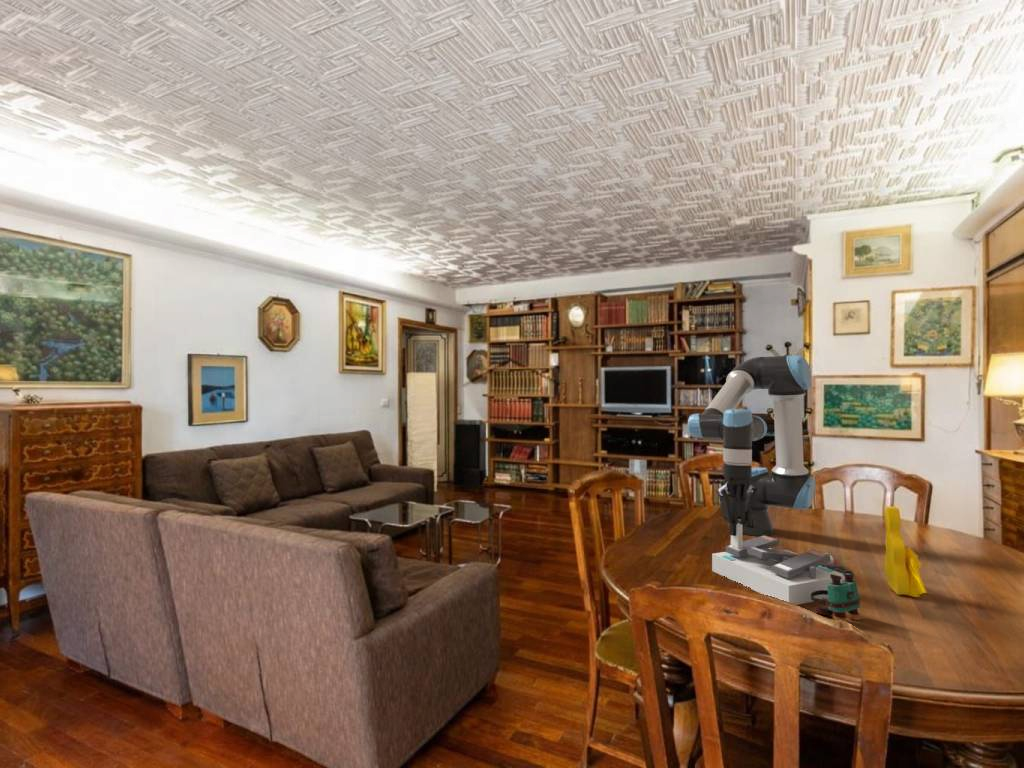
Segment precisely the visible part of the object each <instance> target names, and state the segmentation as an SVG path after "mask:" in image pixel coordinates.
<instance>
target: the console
mask: <svg viewBox="0 0 1024 768" xmlns="http://www.w3.org/2000/svg"><path fill="white" fill-rule="evenodd" d="M768 549H772V548H768ZM711 558H712V559H711V571H712V572H714V573H716V574H718V575H720V576H722V577H724V576H725V577H724V578H726V577H727V579H729V580H731V581H733V582H735V581H736V583H737V582H738V584H739V583H741V584H743V585H742V586H744V587H746V586H747V587H746V588H748V587H750V588H751V590H752V591H755V592H757V593H758V594H761V595H763V594H764V596H765V595H768V596H772V597H775V598H778V599H780V600H784V601H787V602H790V603H793V604H796V605H795V606H799V605H803V604H808V603H813V602H814V601H812V600H811V593H812V592H815V591H819V590H828V584H829V583H832V579H831V576H830V574H833V575H837V576H841V580H840V582H841V581H843V580H845V576H844V575H843V574H842V573H839V572H836V571H834V570H831V569H828V568H825V567H822V566H818V567H814V566H810V567H809V570H808V571H806V572H803V573H801V574H799V575H796V576H794V577H791V578H789V579H788V578H785V577H783V576H780V575H778V574H776V573H773V572H772V569H771V566H772V565H775V564H777V563H780V562H783V561H785V560H788V559H790V558H789V557H786V556H785V557H782V560H775V559H762V558H759V557H756V556H754V555H751V554H749V555H745V556H742V557H737V556H734V555H732V554H729V553H727V552H726V551H721V552H715V553H714V552H713V553H712V554H711ZM741 584H740V585H741ZM750 588H749V589H750ZM822 597H824V598H826V599H827V600H828V595H816V596H814V598H818V599H822ZM824 598H823V599H824ZM826 599H824V600H826ZM814 603H815V602H814Z"/></svg>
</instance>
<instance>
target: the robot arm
mask: <svg viewBox="0 0 1024 768" xmlns="http://www.w3.org/2000/svg"><path fill="white" fill-rule="evenodd" d="M725 381H726V382H725V383H724V385H723V386H722V387H721V389H719V391H718V392H717V394H716V395H715V396H714V398H713V399H712V400H711V402H710V403H709V404H708V405H707V406H706V408H705V409H704V410H703V412H702V413H693V414H690V415H689V417H688V419H687V431H688V433H689V435H690V436H691V437H694V438H699V439H700V438H701V439H714V440H715V439H717V440H723V443H722V449H723V450H722V461H723V462H724V463H723V464H722V476H723V477H724V480H723V485H722V486H721V487H717V488H716V493H717V494H718V498H719V503H720V508H721V513H722V514H721V515H722V520H723V521H724V522H726V523H728V529H729V530H728V531H729V532H728V533H729V535H730V545H731V546H733V547H736V548H742V542H743V536H744V535H748V536H756V537H760V536H764V535H765V536H769V535H772V534H774V525H773V523H772V521H771V517H770V514H769V511H768V510H769V506H774V507H781V508H787V509H792V510H807V509H809V508H810V507H811V505H812V503H813V502H814V501H813V500H814V496H815V491H816V479H815V478H814V477H813V476H810V470H809V469H808V468H806V466H805V465H804V446H803V445H804V443H803V442H804V441H803V438H804V437H803V418H802V417H803V416H802V415H803V414H802V413H803V412H802V398H804V396H806V394H807V393H806V391H807V390H809V389H811V387H812V373H811V367H810V365H809V363H808V360H807V359H806V358H805V357H803V355H777V356H776V355H775V356H756V357H752V358H749V359H747V360H745V361H743V362H741V363H739V364H738V365H736V366H735V367H734V368H733V369H732V370H731V371H730V372H729V373H728V374H727V375H726V379H725ZM753 390H767V393H768V396H769V397H770V398H771V399H772V401H773V420H774V421H773V422H774V443H775V444H774V445H775V466H773V467H772V469H771V472H769V471H768V468H767V467H753V466H752V465H751V464H752V463H753V462H752V461H753V458H752V457H753V448H752V446H753V442H756V441H759V440H761V439H763V438H764V437H765V436H766V434H767V432H768V426H767V423H766V421H765V420H764V419H763V418H762V417H760V416H758V415H753V413H752V411H751V410H750V409H737V407H738V406H739V404H740V403H741V401H742V400H743V399H744V397H745V396H746V395H748V394H750V393H751V392H752V391H753Z"/></svg>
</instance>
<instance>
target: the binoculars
mask: <svg viewBox="0 0 1024 768" xmlns="http://www.w3.org/2000/svg"><path fill="white" fill-rule="evenodd" d="M843 575H844V576H845V580H843V581H841V582H840V580H841V576H837V575H833V574H830V576H831V579H832V583H829V584H828V590H819V591H815V592H812V593H811V600H812V601H814V603H817V604H821V605H822V606H815V613H816V614H821V615H824V616H825V615H827V616H830V617H832V619H833V620H834V619H836V620H842V621H847V622H848V618H849V619H851V620H855V621H860V620H861V614H860V613H859V610H858V609H859V608H861V606H860V604H861V599H860V596H859V591H858V584H857V581H856V580H854V576H855V575H854V571H853V570H850V569H849V570H845V571H844V572H843ZM816 595H828V599H826V598H824V597H822V599H818V598H814V596H816ZM823 598H824V599H823ZM825 600H826V601H825ZM825 604H826V605H825Z"/></svg>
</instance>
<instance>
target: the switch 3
mask: <svg viewBox="0 0 1024 768" xmlns="http://www.w3.org/2000/svg"><path fill="white" fill-rule="evenodd" d="M825 553H826V552H821V551H818V550H814V549H811V550H810V549H809V550H808V551H806V552H803V553H799V554H800V555H798V556H795V557H793V558H790V559H788V560H785V561H783V562H780V563H777V564H775V565H772V566H771V569H772V572H773V573H776V574H778V575H780V576H783V577H785V578H788V579H789V578H791V577H794V576H796V575H799V574H801V573H803V572H806V571H808V570H809V567H810V566H814V567H818V566H820V565H823V564H825V563H828V562H830V561H831V559H830V555H828V554H825Z"/></svg>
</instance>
